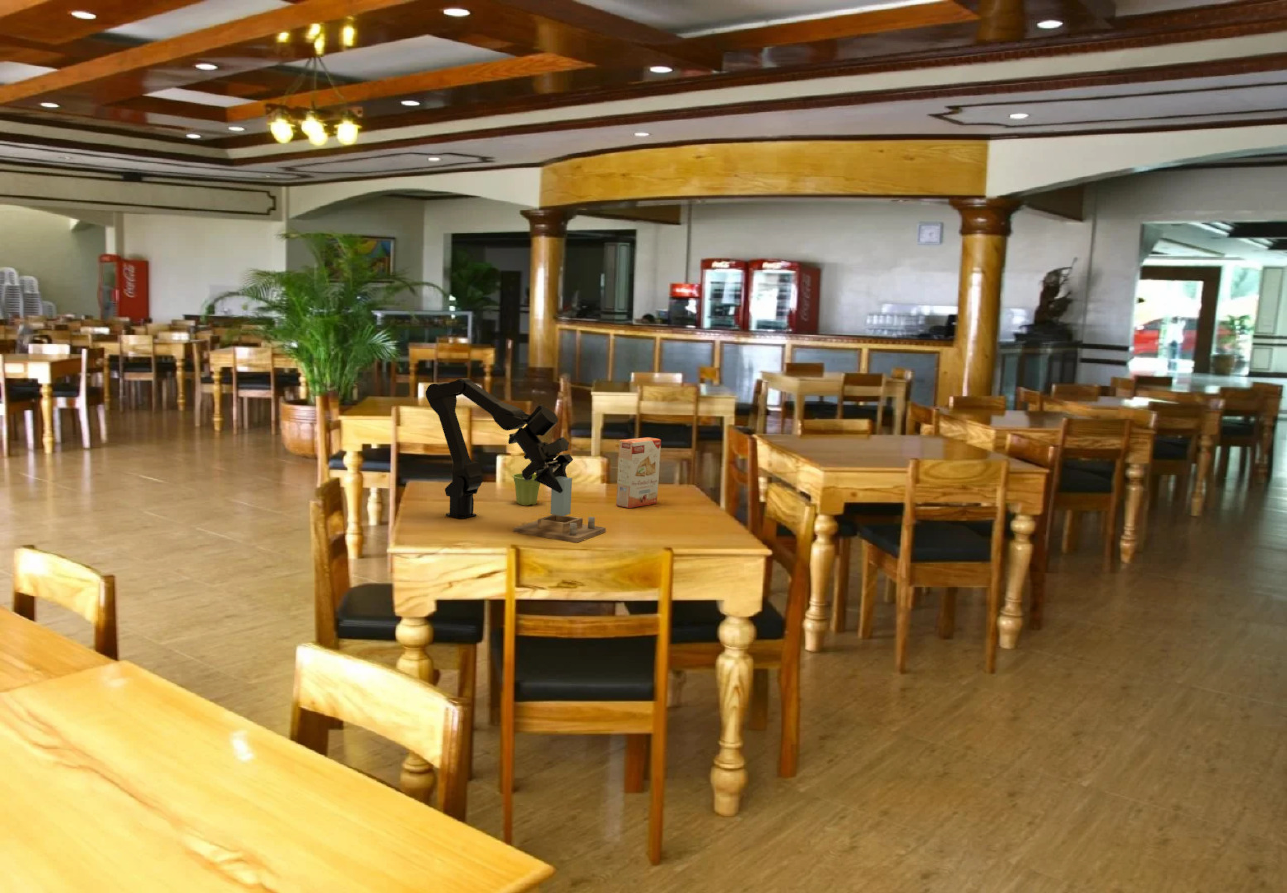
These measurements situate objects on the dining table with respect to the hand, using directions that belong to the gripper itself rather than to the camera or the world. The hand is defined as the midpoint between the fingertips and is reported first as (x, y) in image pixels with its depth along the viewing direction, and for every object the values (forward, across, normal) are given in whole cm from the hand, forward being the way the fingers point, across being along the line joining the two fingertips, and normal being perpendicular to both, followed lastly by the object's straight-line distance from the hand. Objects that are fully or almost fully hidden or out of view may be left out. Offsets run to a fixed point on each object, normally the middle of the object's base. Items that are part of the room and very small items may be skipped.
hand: (565, 490), depth 294 cm
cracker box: (+7, +48, +9) cm, 49 cm away
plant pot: (-12, +28, +29) cm, 42 cm away
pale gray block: (+4, 0, +6) cm, 7 cm away
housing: (+7, 0, +9) cm, 12 cm away
